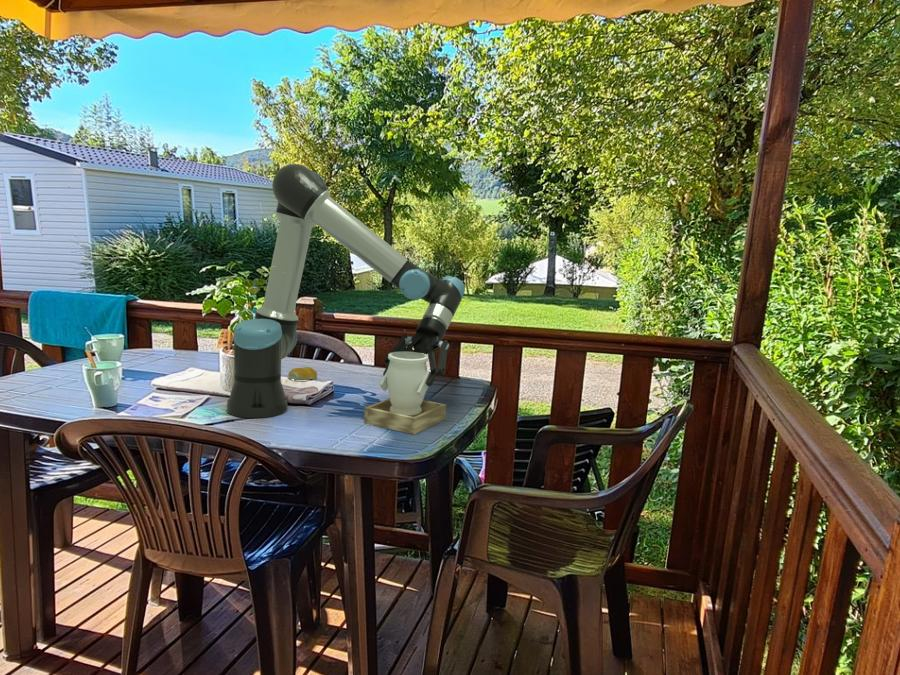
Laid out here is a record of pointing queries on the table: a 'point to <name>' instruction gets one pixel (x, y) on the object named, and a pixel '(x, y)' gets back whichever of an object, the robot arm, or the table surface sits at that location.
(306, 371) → the bread roll
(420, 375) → the jar
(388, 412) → the holder
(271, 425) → the table surface
